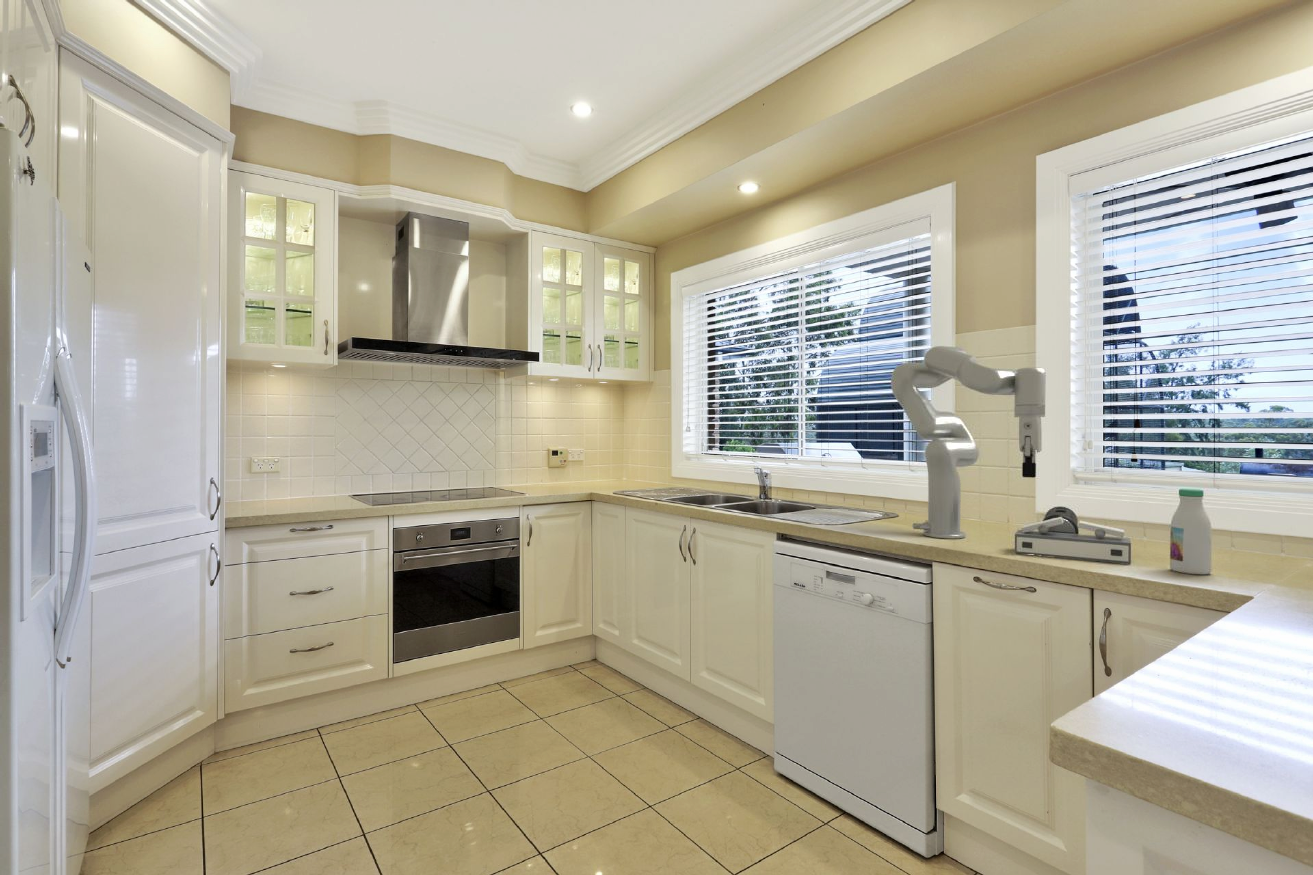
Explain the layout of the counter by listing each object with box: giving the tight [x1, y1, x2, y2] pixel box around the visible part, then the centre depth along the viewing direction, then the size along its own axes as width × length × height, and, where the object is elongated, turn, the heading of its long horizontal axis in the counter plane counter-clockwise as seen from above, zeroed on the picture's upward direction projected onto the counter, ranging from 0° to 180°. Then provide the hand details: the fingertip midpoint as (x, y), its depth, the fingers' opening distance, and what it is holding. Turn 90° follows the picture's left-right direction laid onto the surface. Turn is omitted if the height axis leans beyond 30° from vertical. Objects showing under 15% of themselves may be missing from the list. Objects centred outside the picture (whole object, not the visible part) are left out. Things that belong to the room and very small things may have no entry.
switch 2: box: [1078, 520, 1125, 538], centre depth 174 cm, size 10×5×3 cm, turn 56°
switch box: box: [1014, 529, 1132, 565], centre depth 177 cm, size 26×9×6 cm, turn 56°
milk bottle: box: [1169, 488, 1212, 575], centre depth 158 cm, size 8×8×20 cm
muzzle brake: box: [1042, 505, 1080, 534], centre depth 195 cm, size 10×28×10 cm, turn 147°
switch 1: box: [1020, 517, 1064, 533], centre depth 181 cm, size 10×5×3 cm, turn 56°
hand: (1029, 477), depth 183 cm, fingers closed
